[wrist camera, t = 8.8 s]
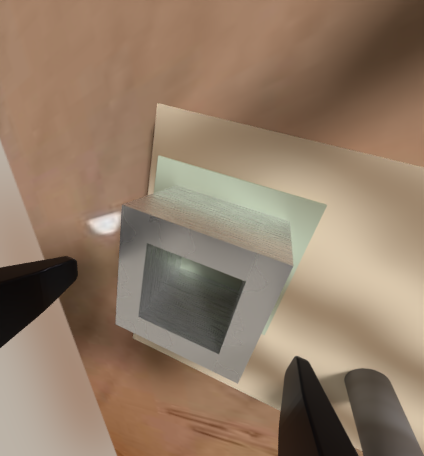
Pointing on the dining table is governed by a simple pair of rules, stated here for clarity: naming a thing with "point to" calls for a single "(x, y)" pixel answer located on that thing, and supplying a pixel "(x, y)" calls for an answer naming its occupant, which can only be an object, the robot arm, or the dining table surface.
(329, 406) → the robot arm
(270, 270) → the collar
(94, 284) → the dining table surface
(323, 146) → the board
